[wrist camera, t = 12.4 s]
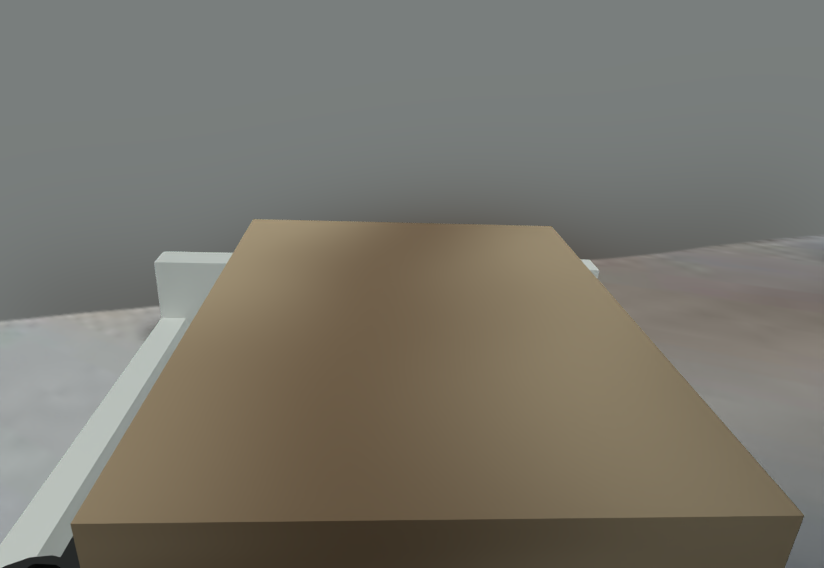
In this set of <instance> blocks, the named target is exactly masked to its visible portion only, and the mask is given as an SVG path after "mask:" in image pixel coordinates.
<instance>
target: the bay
mask: <svg viewBox="0 0 824 568" xmlns="http://www.w3.org/2000/svg"><path fill="white" fill-rule="evenodd" d="M232 254H233V253H215V252H163V253H162V254H161V255H160V256H159V257H158V258H157V260H156V261H155V262H154V264H155V273H156V281H157V288H158V296H159V304H160V312H161V319H160V321H159V322H158V323H157V325H156V326H155V328H154V329H153V331H152V332H151V333H150V335H149V336H148V338H147V339H146V340H145V342H144V343H143V345H142V346H141V347H140V349H139V350H138V352H137V353H136V354H135V356H134V357H133V359H132V360H131V361H130V363H129V364H128V366H127V367H126V368H125V370H124V371H123V373H122V374H121V376H120V377H119V378H118V380H117V381H116V383H115V384H114V385H113V387H112V388H111V390H110V391H109V392H108V394H107V395H106V397H105V398H104V399H103V401H102V402H101V404H100V405H99V406H98V408H97V409H96V411H95V412H94V414H93V415H92V416H91V418H90V419H89V421H88V422H87V423H86V425H85V426H84V428H83V429H82V430H81V432H80V433H79V435H78V436H77V437H76V439H75V440H74V442H73V443H72V444H71V446H70V447H69V449H68V450H67V451H66V453H65V454H64V456H63V457H62V459H61V460H60V461H59V463H58V464H57V466H56V467H55V468H54V470H53V471H52V473H51V474H50V475H49V477H48V478H47V480H46V481H45V482H44V484H43V485H42V487H41V488H40V489H39V491H38V492H37V494H36V495H35V497H34V498H33V499H32V501H31V502H30V504H29V505H28V506H27V508H26V509H25V511H24V512H23V513H22V515H21V516H20V518H19V519H18V520H17V522H16V523H15V525H14V526H13V527H12V529H11V530H10V532H9V533H8V534H7V536H6V537H5V539H4V540H3V542H2V543H1V544H0V568H2V567H4V566H6V565H9V564H12V563H15V562H18V561H21V560H24V559H26V558H29V557H39V556H50V555H53V556H57V557H61V555H62V554H63V552H64V550H65V549H66V547H67V545H68V543H69V542H70V540H71V538H72V536H73V533H72V529H71V525H70V524H71V522H72V520H73V519H74V517H75V515H76V514H77V512H78V510H79V509H80V507H81V505H82V504H83V502H84V500H85V499H86V497H87V495H88V494H89V492H90V490H91V489H92V487H93V485H94V484H95V482H96V480H97V479H98V477H99V475H100V474H101V472H102V470H103V469H104V467H105V465H106V464H107V462H108V460H109V459H110V457H111V455H112V454H113V452H114V450H115V449H116V447H117V445H118V444H119V442H120V440H121V439H122V437H123V435H124V434H125V432H126V430H127V429H128V427H129V425H130V424H131V422H132V420H133V419H134V417H135V415H136V414H137V412H138V410H139V409H140V407H141V405H142V404H143V402H144V400H145V399H146V397H147V395H148V394H149V392H150V390H151V389H152V387H153V385H154V384H155V382H156V380H157V379H158V377H159V375H160V374H161V372H162V370H163V369H164V367H165V365H166V364H167V362H168V360H169V359H170V357H171V355H172V354H173V352H174V350H175V349H176V347H177V345H178V344H179V342H180V340H181V339H182V337H183V335H184V334H185V332H186V330H187V329H188V327H189V325H190V324H191V322H192V320H193V319H194V317H195V315H196V314H197V312H198V310H199V309H200V307H201V305H202V304H203V302H204V300H205V299H206V297H207V295H208V294H209V292H210V290H211V289H212V287H213V285H214V284H215V282H216V280H217V279H218V277H219V275H220V274H221V272H222V270H223V269H224V267H225V266H226V264H227V262H228V261H229V259H230V257H231V256H232ZM581 261H582V262H583V263H584V264H585V265H586V266H587V268H588V269H589V270H590V271H591V272H592V273H593V274H594V276H595V277H596V278H597V279H598V274H599V270H598V269H597V267H596V266H595V265H594V264H593V263H592V262H591V261H590V260H581Z"/></svg>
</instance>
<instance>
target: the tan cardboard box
mask: <svg viewBox="0 0 824 568" xmlns="http://www.w3.org/2000/svg"><path fill="white" fill-rule="evenodd" d="M803 518H804V515H803V514H802V512H801V511H800V510H799V509H798V508H797V507H796V506H795V504H794V503H793V502H792V501H791V500H790V499H789V498H788V496H787V495H786V494H785V493H784V492H783V491H782V490H781V488H780V487H779V486H778V485H777V484H776V483H775V482H774V480H773V479H772V478H771V477H770V476H769V475H768V474H767V472H766V471H765V470H764V469H763V468H762V467H761V466H760V464H759V463H758V462H757V461H756V460H755V459H754V458H753V456H752V455H751V454H750V453H749V452H748V451H747V450H746V448H745V447H744V446H743V445H742V444H741V443H740V442H739V440H738V439H737V438H736V437H735V436H734V435H733V434H732V432H731V431H730V430H729V429H728V428H727V427H726V426H725V424H724V423H723V422H722V421H721V420H720V419H719V418H718V416H717V415H716V414H715V413H714V412H713V411H712V409H711V408H710V407H709V406H708V405H707V404H706V403H705V401H704V400H703V399H702V398H701V397H700V396H699V395H698V393H697V392H696V391H695V390H694V389H693V388H692V387H691V385H690V384H689V383H688V382H687V381H686V380H685V379H684V377H683V376H682V375H681V374H680V373H679V372H678V371H677V369H676V368H675V367H674V366H673V365H672V364H671V363H670V361H669V360H668V359H667V358H666V357H665V356H664V355H663V353H662V352H661V351H660V350H659V349H658V348H657V347H656V345H655V344H654V343H653V342H652V341H651V340H650V339H649V337H648V336H647V335H646V334H645V333H644V332H643V331H642V329H641V328H640V327H639V326H638V325H637V324H636V323H635V321H634V320H633V319H632V318H631V317H630V316H629V315H628V313H627V312H626V311H625V310H624V309H623V308H622V307H621V305H620V304H619V303H618V302H617V301H616V300H615V299H614V297H613V296H612V295H611V294H610V293H609V292H608V291H607V289H606V288H605V287H604V286H603V285H602V284H601V283H600V281H599V280H598V279H597V278H596V277H595V276H594V274H593V273H592V272H591V271H590V270H589V269H588V268H587V266H586V265H585V264H584V263H583V262H582V261H581V260H580V258H579V257H577V255H576V254H575V253H574V252H573V250H572V249H571V248H570V247H569V246H568V245H567V244H566V242H565V241H564V240H563V239H562V238H561V237H560V236H559V234H558V233H557V232H556V231H555V230H554V229H553V228H552V226H518V225H514V226H513V225H476V224H434V223H391V222H349V221H305V220H264V219H262V220H261V219H253V221H252V222H251V224H250V226H249V227H248V229H247V231H246V232H245V234H244V236H243V237H242V239H241V241H240V242H239V244H238V246H237V247H236V249H235V251H234V252H233V254H232V256H231V257H230V259H229V261H228V262H227V264H226V266H225V267H224V269H223V270H222V272H221V274H220V275H219V277H218V279H217V280H216V282H215V284H214V285H213V287H212V289H211V290H210V292H209V294H208V295H207V297H206V299H205V300H204V302H203V304H202V305H201V307H200V309H199V310H198V312H197V314H196V315H195V317H194V319H193V320H192V322H191V324H190V325H189V327H188V329H187V330H186V332H185V334H184V335H183V337H182V339H181V340H180V342H179V344H178V345H177V347H176V349H175V350H174V352H173V354H172V355H171V357H170V359H169V360H168V362H167V364H166V365H165V367H164V369H163V370H162V372H161V374H160V375H159V377H158V379H157V380H156V382H155V384H154V385H153V387H152V389H151V390H150V392H149V394H148V395H147V397H146V399H145V400H144V402H143V404H142V405H141V407H140V409H139V410H138V412H137V414H136V415H135V417H134V419H133V420H132V422H131V424H130V425H129V427H128V429H127V430H126V432H125V434H124V435H123V437H122V439H121V440H120V442H119V444H118V445H117V447H116V449H115V450H114V452H113V454H112V455H111V457H110V459H109V460H108V462H107V464H106V465H105V467H104V469H103V470H102V472H101V474H100V475H99V477H98V479H97V480H96V482H95V484H94V485H93V487H92V489H91V490H90V492H89V494H88V495H87V497H86V499H85V500H84V502H83V504H82V505H81V507H80V509H79V510H78V512H77V514H76V515H75V517H74V519H73V520H72V522H71V524H70V525H71V529H72V533H73V538H74V542H75V547H76V551H77V555H78V560H79V564H80V568H785V565H786V562H787V560H788V557H789V555H790V552H791V549H792V547H793V544H794V541H795V539H796V536H797V533H798V531H799V528H800V526H801V523H802V520H803Z"/></svg>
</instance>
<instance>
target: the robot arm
mask: <svg viewBox="0 0 824 568" xmlns="http://www.w3.org/2000/svg"><path fill="white" fill-rule="evenodd" d="M2 568H80V564H79V560H78V555H77V551H76V547H75V542H74V538H73V536H72V538H71V540H70V542H69V543H68V545H67V547H66V549H65V550H64V552H63V554H62V555H61V557H57V556H53V555H50V556H39V557H29V558H26V559H24V560H21V561H18V562H15V563H12V564H9V565H6V566H4V567H2Z"/></svg>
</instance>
